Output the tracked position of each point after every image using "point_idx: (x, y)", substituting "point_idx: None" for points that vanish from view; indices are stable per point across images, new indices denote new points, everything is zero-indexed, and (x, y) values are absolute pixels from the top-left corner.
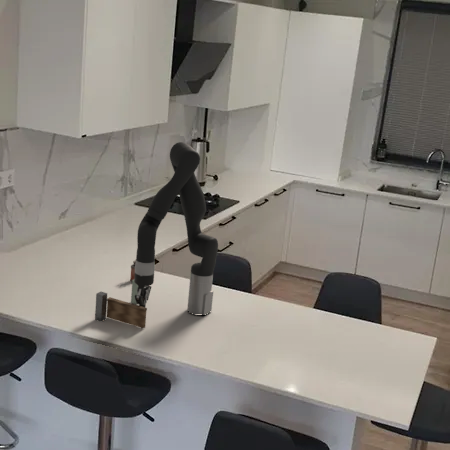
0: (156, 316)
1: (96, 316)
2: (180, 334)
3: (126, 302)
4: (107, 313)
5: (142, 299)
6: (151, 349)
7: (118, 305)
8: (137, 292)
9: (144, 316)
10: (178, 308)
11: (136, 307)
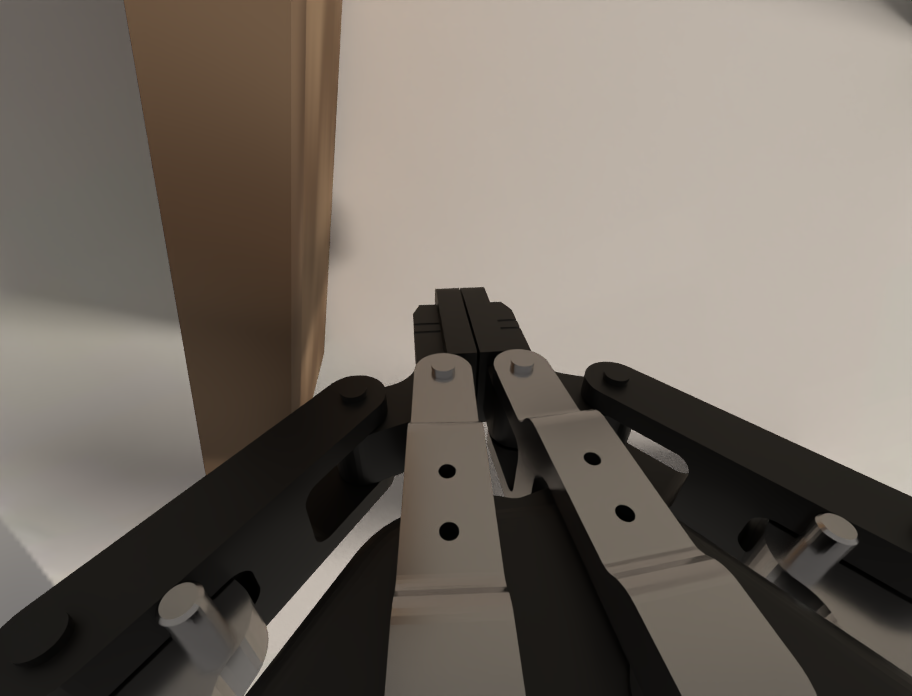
0: (607, 335)
1: None
2: (377, 529)
3: (262, 154)
4: None
5: (291, 587)
6: (29, 496)
7: None
8: (394, 591)
9: None
10: (779, 406)
11: (200, 421)
